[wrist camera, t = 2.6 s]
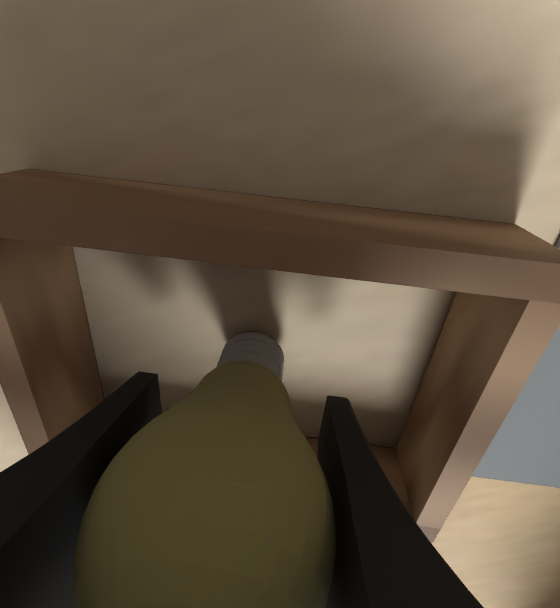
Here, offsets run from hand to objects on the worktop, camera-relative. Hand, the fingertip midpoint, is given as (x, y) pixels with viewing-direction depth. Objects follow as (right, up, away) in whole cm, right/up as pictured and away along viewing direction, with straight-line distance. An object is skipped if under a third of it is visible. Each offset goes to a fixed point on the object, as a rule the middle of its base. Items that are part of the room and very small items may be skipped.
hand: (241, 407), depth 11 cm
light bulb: (0, +2, +3) cm, 4 cm away
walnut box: (0, +2, +3) cm, 3 cm away
